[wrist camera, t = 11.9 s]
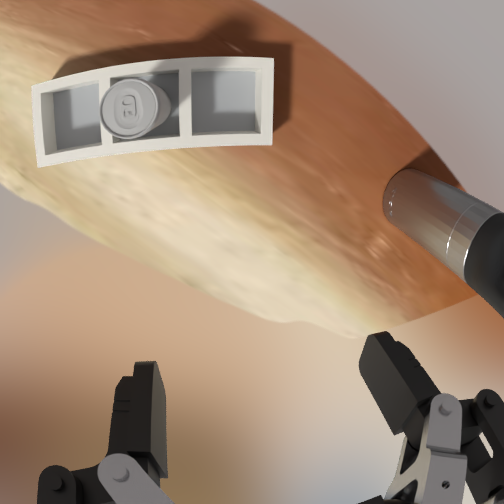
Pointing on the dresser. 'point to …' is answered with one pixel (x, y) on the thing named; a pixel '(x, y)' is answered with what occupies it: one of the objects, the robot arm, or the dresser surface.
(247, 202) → the dresser surface
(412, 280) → the dresser surface
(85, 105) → the can caddy
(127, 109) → the beverage can
